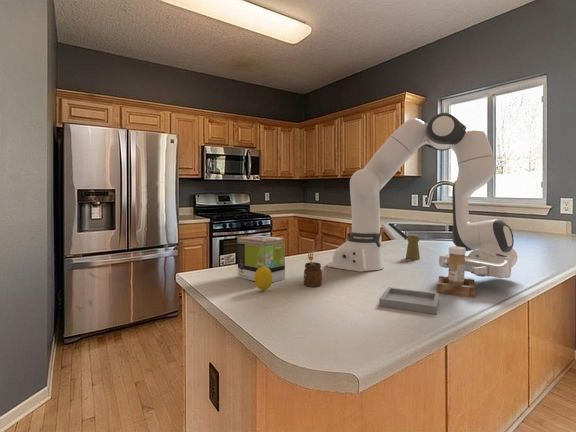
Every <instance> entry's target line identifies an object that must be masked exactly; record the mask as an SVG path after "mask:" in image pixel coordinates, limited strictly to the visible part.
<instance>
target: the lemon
mask: <svg viewBox="0 0 576 432" xmlns="http://www.w3.org/2000/svg"><path fill="white" fill-rule="evenodd" d="M254 280H255V281H254V284H255V286H256V287H257V289H259V290H261V291H262V292H265V291H266V290H267V289H269V288H270V287H271V286H272V284H273V282H272V273H271V271H270V270H269V269H268V268H267V267H265V266H262V267H260V268H259V269H257V271H256V273H255V278H254Z"/></svg>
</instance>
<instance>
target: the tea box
mask: <svg viewBox="0 0 576 432" xmlns="http://www.w3.org/2000/svg"><path fill="white" fill-rule="evenodd" d="M236 240H237V241H236V242H237V246H236V247H237V277H238V278H240V279H245V280H249V281H253V282H255V280H254V278H255V273H256V271H257V269H259V268H260V267H262V266H265V267H267V268H268V269H269V270H270V271H271V273H272V283H275V282H279V281H282V280H285V279H286V254H285V253H286V252H285V249H286V248H285V247H286V245H285V244H286V243H285V238H284V237H277V236H276V237H275V236H267V235H266V236H265V235H250V236H248V235H247V236H241V237H237V238H236Z"/></svg>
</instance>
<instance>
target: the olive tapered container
mask: <svg viewBox="0 0 576 432" xmlns="http://www.w3.org/2000/svg"><path fill="white" fill-rule="evenodd" d="M406 241H407V248H406V255H405V259H406V260H408V259H410V260H409V261H419V259H421V257H420V250H419V248H420V247H419V242H420V236H419V235H418V234H415V233H412V234H408V235H407V237H406Z"/></svg>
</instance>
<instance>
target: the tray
mask: <svg viewBox="0 0 576 432" xmlns="http://www.w3.org/2000/svg"><path fill="white" fill-rule="evenodd" d="M439 303H440V293H437V292H434V291H433V292H431V291H423V290H416V289H415V290H414V289H407V288H400V287H398V288H397V287H390V286H389V287H387V288H386V289H385V291H384V292H383V293H382V295H381V296H380V297H379V299H378V305H379V307H385V308H389V309H390V308H391V309H396V310H397V309H398V310H404V311H411V312H416V313H417V312H418V313H424V314H429V315H431V314H432V315H437V312H438V307H439Z"/></svg>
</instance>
